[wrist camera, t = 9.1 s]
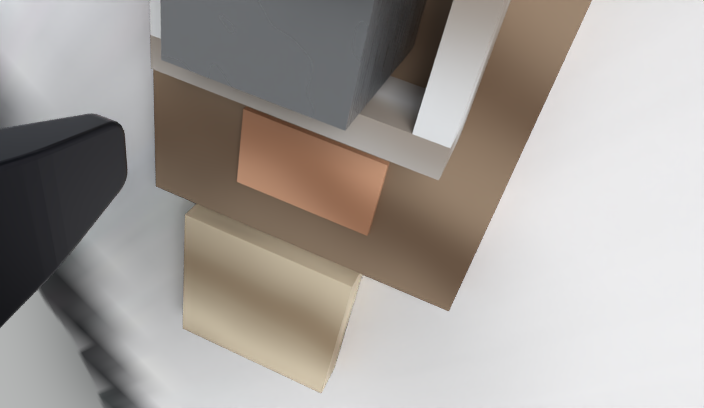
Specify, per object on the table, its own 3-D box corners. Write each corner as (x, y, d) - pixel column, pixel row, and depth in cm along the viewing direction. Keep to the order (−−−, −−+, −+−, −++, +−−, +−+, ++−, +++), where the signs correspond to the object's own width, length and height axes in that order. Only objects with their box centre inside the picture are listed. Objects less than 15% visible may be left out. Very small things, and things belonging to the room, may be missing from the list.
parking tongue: (334, 367, 27) (321, 393, 26) (200, 306, 28) (182, 328, 27) (366, 261, 23) (352, 286, 22) (206, 193, 24) (184, 214, 23)
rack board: (456, 288, 22) (430, 364, 19) (173, 170, 24) (112, 222, 21) (764, -387, 10) (812, -447, 8) (176, -505, 12) (44, -587, 10)
